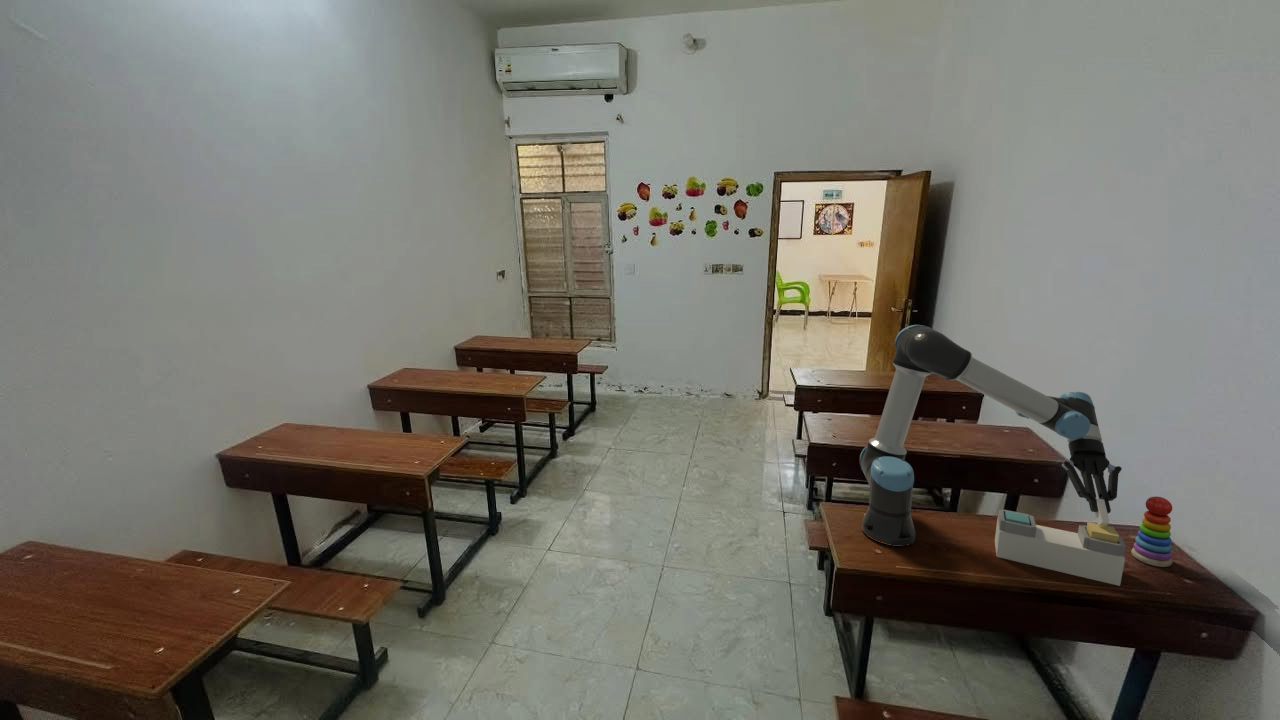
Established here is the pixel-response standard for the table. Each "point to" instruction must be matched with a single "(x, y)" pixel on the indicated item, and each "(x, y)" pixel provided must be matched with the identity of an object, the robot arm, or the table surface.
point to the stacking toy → (1155, 534)
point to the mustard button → (1102, 532)
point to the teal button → (1017, 517)
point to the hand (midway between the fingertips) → (1103, 524)
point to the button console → (1060, 550)
